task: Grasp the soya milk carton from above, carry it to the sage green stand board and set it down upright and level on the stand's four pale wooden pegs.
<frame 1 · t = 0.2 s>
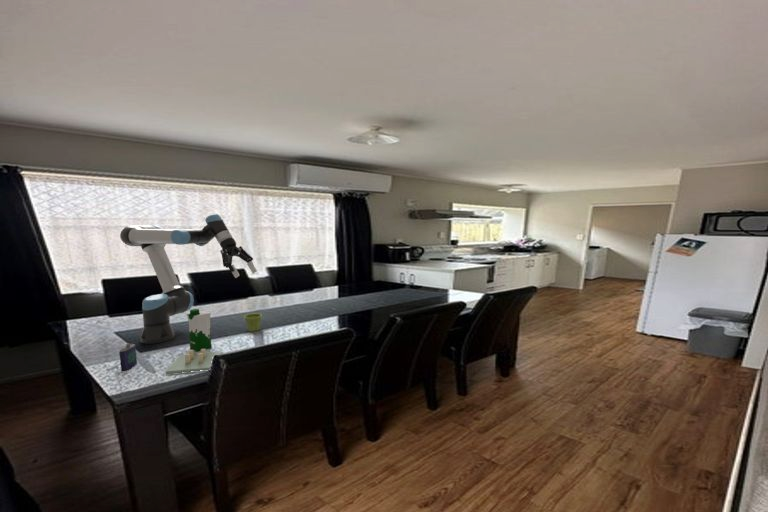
hand: (246, 274, 180), 35 cm above the table, tool tilted 35°, fingers open, 13 cm apart
flask: (129, 367, 148), on the table
plant pot: (253, 330, 198), on the table
peg stand: (196, 363, 151), on the table
soya milk: (201, 348, 170), on the table
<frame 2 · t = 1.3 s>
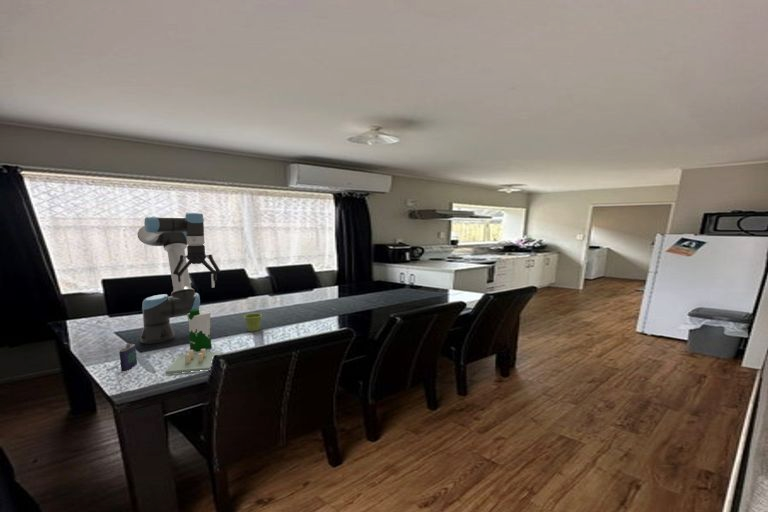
hand: (198, 288, 167), 31 cm above the table, tool pointing down, fingers open, 13 cm apart
nothing on the table moved.
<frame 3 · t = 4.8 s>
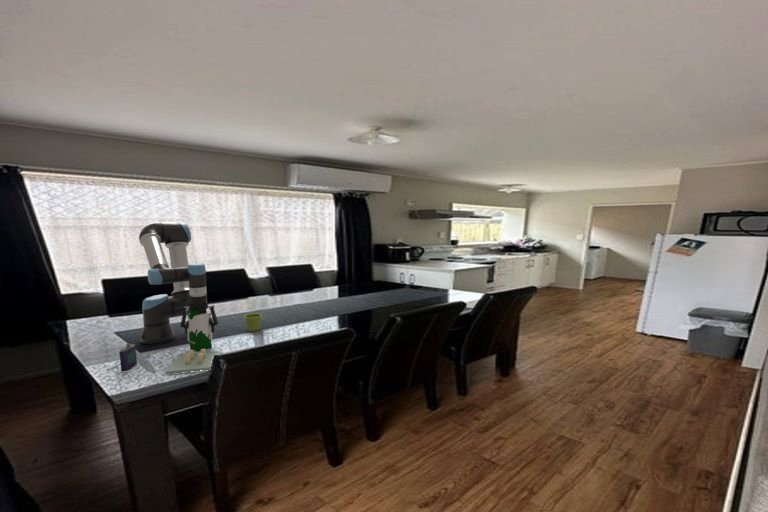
hand: (200, 339, 169), 5 cm above the table, tool pointing down, fingers closed on soya milk, 9 cm apart
soya milk: (201, 348, 170), on the table, touching gripper
everything else where it was.
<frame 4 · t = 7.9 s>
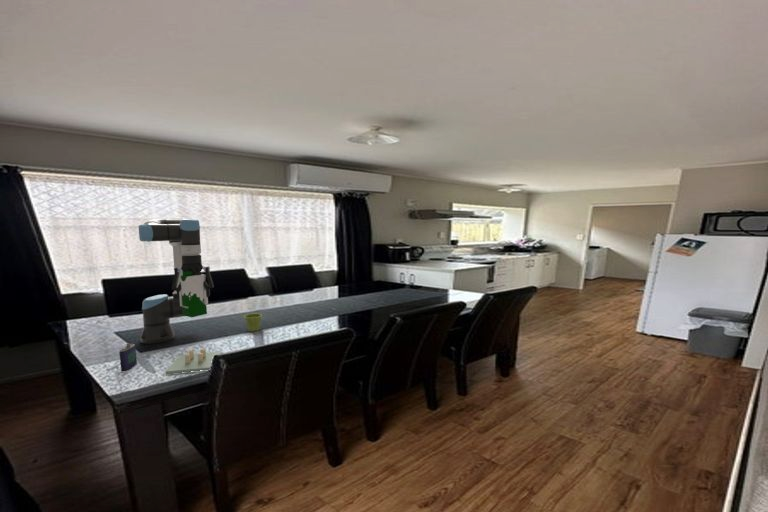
hand: (194, 304, 152), 26 cm above the table, tool pointing down, fingers closed on soya milk, 9 cm apart
soya milk: (195, 315, 152), point 21 cm above the table, touching gripper
everything else where it was.
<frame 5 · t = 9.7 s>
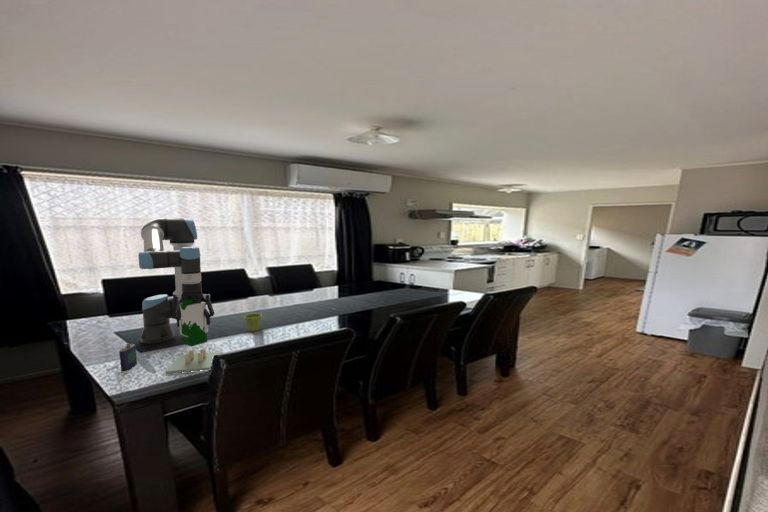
hand: (194, 332, 150), 14 cm above the table, tool pointing down, fingers closed on soya milk, 9 cm apart
soya milk: (195, 343, 150), point 10 cm above the table, touching gripper
everything else where it was.
when the fingers open (12 cm above the table, at t = 11.1 s): soya milk drops 2 cm, resting on peg stand.
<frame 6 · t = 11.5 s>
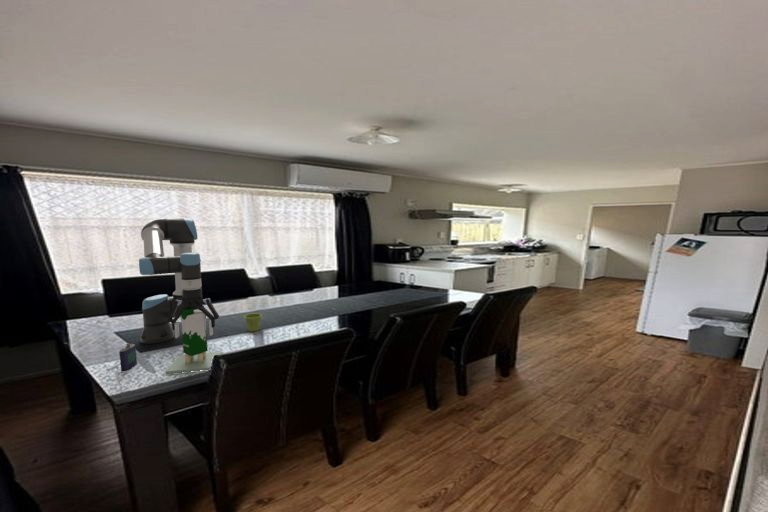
hand: (194, 335, 150), 13 cm above the table, tool pointing down, fingers open, 13 cm apart
soya milk: (195, 352, 151), point 5 cm above the table, touching peg stand
everything else where it was.
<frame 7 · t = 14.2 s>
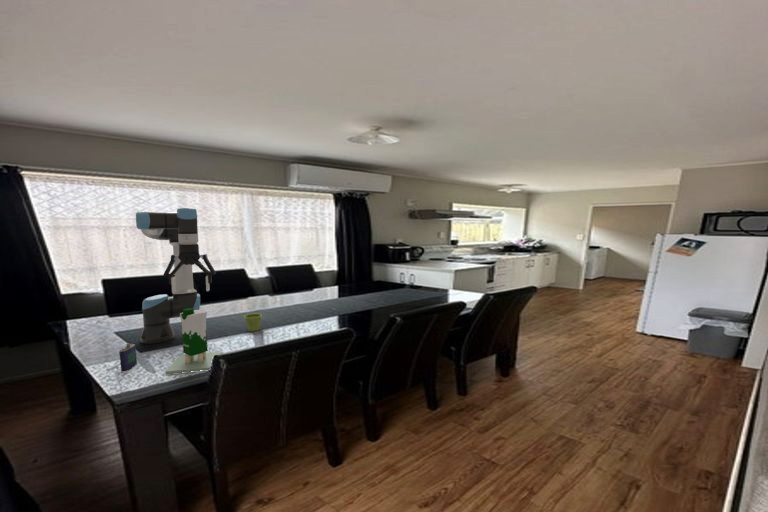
hand: (191, 291, 151), 32 cm above the table, tool pointing down, fingers open, 13 cm apart
nothing on the table moved.
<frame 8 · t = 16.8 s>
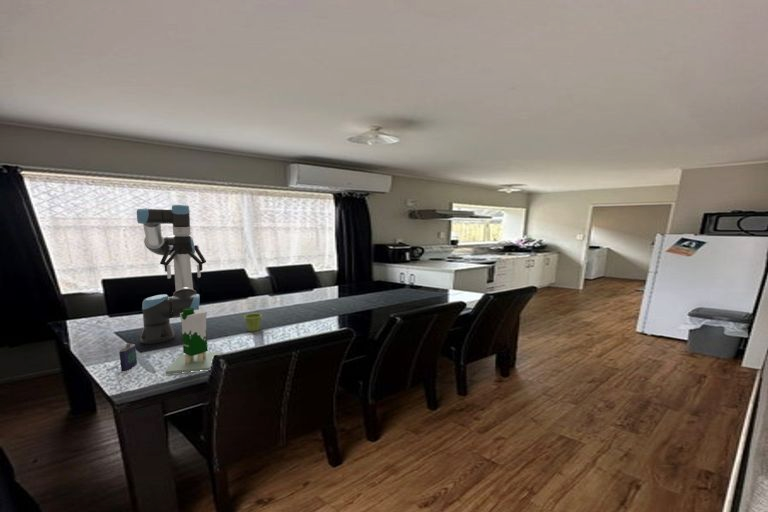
hand: (184, 277, 172), 35 cm above the table, tool pointing down, fingers open, 13 cm apart
nothing on the table moved.
at the end: soya milk 0.1 cm off-centre on the peg stand, point 5.3 cm above the peg stand's base; soya milk tilted 0°; the gripper is holding nothing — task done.
